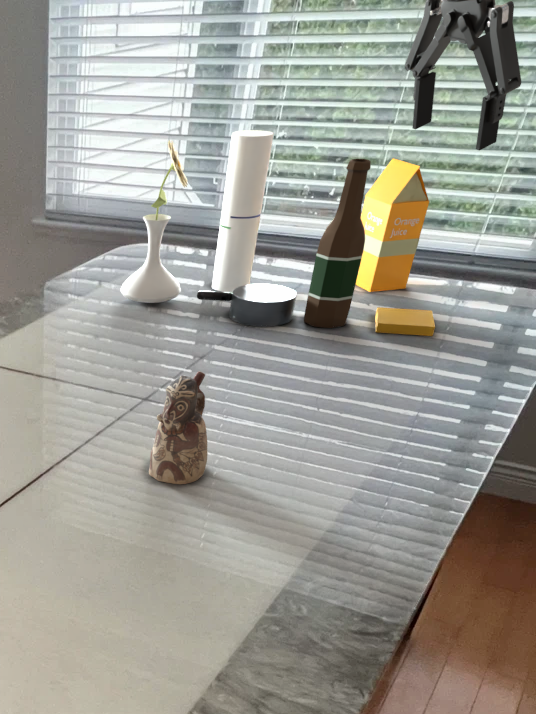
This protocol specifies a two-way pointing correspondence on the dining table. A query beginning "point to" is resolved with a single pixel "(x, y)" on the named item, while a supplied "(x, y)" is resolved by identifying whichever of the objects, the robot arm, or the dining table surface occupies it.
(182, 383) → the figurine
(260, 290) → the steel pan
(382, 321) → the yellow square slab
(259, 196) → the cylindrical container
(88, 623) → the dining table surface
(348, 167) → the beer bottle
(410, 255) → the orange juice
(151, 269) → the flower in vase
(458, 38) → the robot arm
